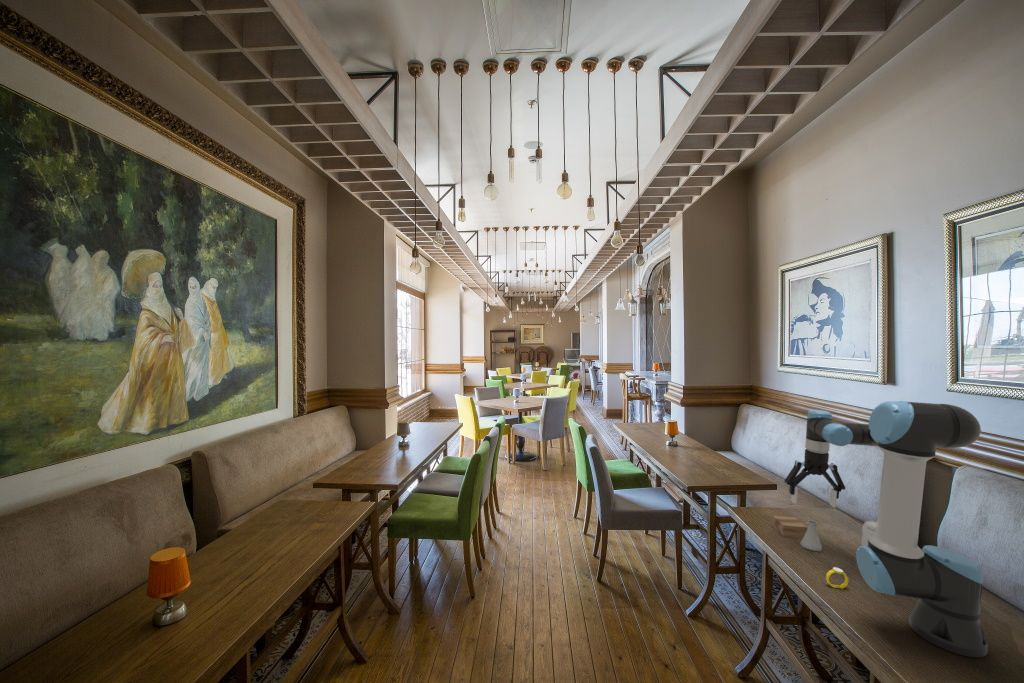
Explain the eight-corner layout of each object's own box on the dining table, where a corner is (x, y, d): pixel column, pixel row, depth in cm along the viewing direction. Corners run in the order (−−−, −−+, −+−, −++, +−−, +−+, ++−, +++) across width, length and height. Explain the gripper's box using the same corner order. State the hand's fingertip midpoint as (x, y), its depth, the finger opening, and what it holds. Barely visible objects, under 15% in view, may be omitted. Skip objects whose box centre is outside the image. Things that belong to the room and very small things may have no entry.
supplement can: (892, 576, 147) (895, 533, 146) (862, 568, 151) (864, 526, 150) (887, 565, 154) (890, 524, 153) (858, 557, 158) (860, 518, 157)
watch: (843, 586, 140) (846, 569, 140) (848, 591, 137) (851, 573, 137) (823, 582, 141) (826, 565, 141) (828, 587, 138) (830, 570, 138)
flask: (801, 548, 163) (802, 523, 163) (798, 540, 170) (800, 516, 169) (824, 554, 160) (825, 528, 159) (820, 545, 166) (822, 520, 166)
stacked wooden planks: (806, 539, 171) (807, 527, 171) (782, 537, 172) (783, 525, 172) (795, 529, 180) (795, 517, 180) (772, 527, 181) (772, 515, 181)
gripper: (847, 450, 165) (843, 503, 166) (777, 445, 169) (773, 497, 170) (859, 456, 158) (855, 512, 159) (786, 450, 162) (782, 505, 163)
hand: (813, 504), depth 165 cm, fingers open, 13 cm apart
